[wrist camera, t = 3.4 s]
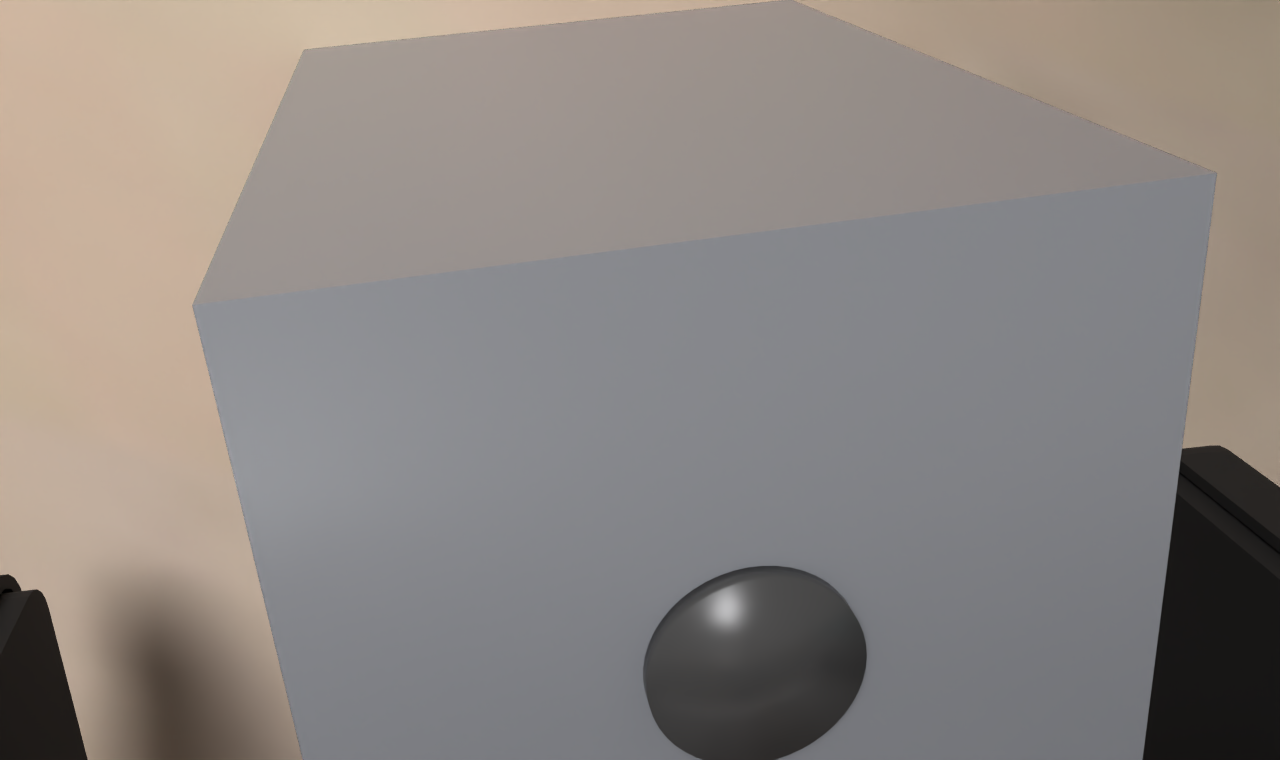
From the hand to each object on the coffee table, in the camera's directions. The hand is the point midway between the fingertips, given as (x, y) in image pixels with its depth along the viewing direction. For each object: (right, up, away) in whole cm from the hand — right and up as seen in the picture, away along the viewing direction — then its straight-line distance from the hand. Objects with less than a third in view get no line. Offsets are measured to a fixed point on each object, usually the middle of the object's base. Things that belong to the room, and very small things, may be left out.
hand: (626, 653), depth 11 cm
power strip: (0, +1, +2) cm, 2 cm away
